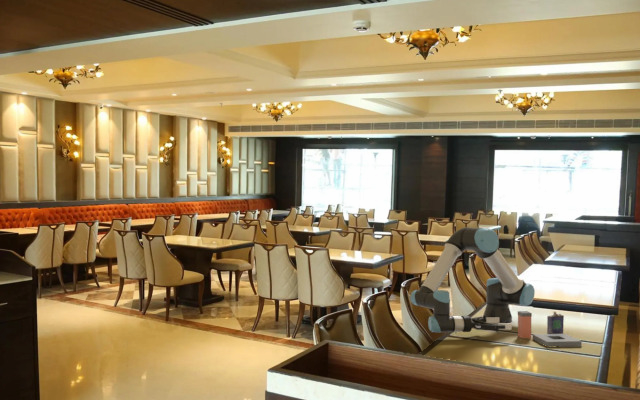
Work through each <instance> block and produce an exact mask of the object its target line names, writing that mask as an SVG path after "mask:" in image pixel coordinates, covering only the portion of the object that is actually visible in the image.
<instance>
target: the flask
mask: <svg viewBox="0 0 640 400" xmlns="http://www.w3.org/2000/svg"><path fill="white" fill-rule="evenodd" d="M564 320H565V318H564V314H561V313H557V311H553V315H547V322H546V323H547V324H546V325H547V326H546V327H547V328H546V329H547V331H546V334H564V322H565V321H564Z"/></svg>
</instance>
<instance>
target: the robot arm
mask: <svg viewBox="0 0 640 400" xmlns="http://www.w3.org/2000/svg"><path fill="white" fill-rule="evenodd" d="M499 245H500V241H499V236H498V234H497V232H496V231H494V229H492V228H487V227H469V226H466V227H465V226H464V227H461V228H460V229H458V230H456V231H455V232H454V233H453V234H451V236H450V237H449V238H448V239H447V240H446V242H445V243H444V249H443V251H442V253H441V254H440V255H439V256H438V258H437V261H435V262H434V263H435V264H433V266H432V269H431V270H430V271H429V273H428V275H427V277H426V278H425V279H424V281H423V283H422V285H421V286H420V288H419V289H415V290H413V291H411V293H410V302H411V303H412V305H415V306H417V307H422V308H426V309H430V310H433V315H430V316H429V317H428V321H427V324H428V325H427V326H428V329H429V332H431V333H441V334H442V333H454V334H457V333H461V332H462V333H471V331H472V329H475V330H479V331H481V330H482V331H483V330H484V331H493V332H496V333H497V332H499V331H501V330H502V331H503V330H504V331H506V330H510V331H511V330H512V323H511V322H512V321H513V316H512V313H511V310H510V305H509V304H511V305H517V306H521V307H523V306H524V307H528V306H530V305H531V304H532V302H533V300H534V298H535V288H534V286H533V285H532V284H531V283H527V282H525V280H524V279H523V278H522V277H521V276H520V275H517V274H516V273H515V271H514V270H513V268H512V267H511V266H510V265H509V263H508V262H507V260H506V259H505V258H504V256H503V254H502V253H501V251H500V250H499ZM465 251H471V252H472V251H473V252H474V253H475V254H476V256H477V257H478V258H479V259H482V260H484V262H486V264H487V266H488V268H490V270H491V271H492V273H493V274H494V275H495V277H493V278H488V279H486V286H485V287H486V291H485V292H486V294H485V295H486V304H485V305H486V306H485V308H484V312H483V315H482V316H481V315H480V316H475V317H471V316H470V315H462V316H461V315H450V314H451V311H450V309H451V303H450V302H451V295H450V292H449V291H448V290H445V289H444V290H443V289H439V288H440V286H441V285H442V283H443V281H444V280H445V278H446V276H447V275H448V273H449V272H450V270H451V268H452V266H453V265H454V263H455V261H456V260H457V259H458V257H460V256H461V255H462V254H463V253H464V252H465ZM506 322H507V323H506Z"/></svg>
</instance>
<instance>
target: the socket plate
mask: <svg viewBox="0 0 640 400" xmlns="http://www.w3.org/2000/svg"><path fill="white" fill-rule="evenodd" d="M532 340H533V341H534V340H535V341H534V342H536V341H537V342H536V343H538V342H539V343H538V344H540V343H541V344H540V345H542V344H544V345H546V346H559V347H558V348H579V347H580V348H582V343H583V342H582V340H580V339H578V338H576V337H573V336H572V335H569V334H567V333H563V334H562V333H561V334H547V333H540V334H539V333H537V334H536V333H534V334H532ZM544 345H543V346H544Z"/></svg>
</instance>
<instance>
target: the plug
mask: <svg viewBox="0 0 640 400" xmlns="http://www.w3.org/2000/svg"><path fill="white" fill-rule="evenodd" d="M532 314H533V313H532V312H530V311H528V310H518V311H517V337H518V336H519V337H518V338H520V337H521V338H531V339H532V317H533V315H532ZM521 338H520V339H521Z"/></svg>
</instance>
